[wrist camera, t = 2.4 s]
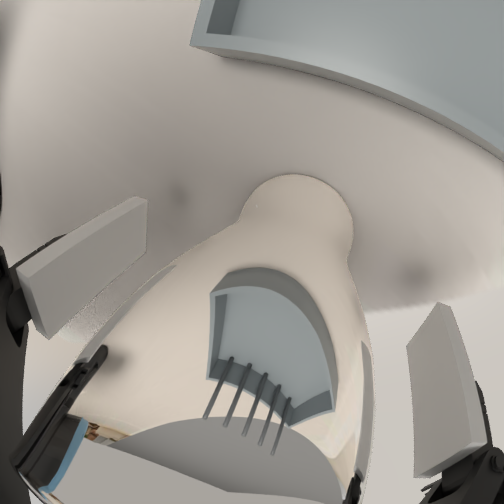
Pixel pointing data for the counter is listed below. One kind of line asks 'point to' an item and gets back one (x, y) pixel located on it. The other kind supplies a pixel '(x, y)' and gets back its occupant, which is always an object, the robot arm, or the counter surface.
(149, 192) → the counter surface
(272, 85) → the counter surface
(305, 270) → the beer glass
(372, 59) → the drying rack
